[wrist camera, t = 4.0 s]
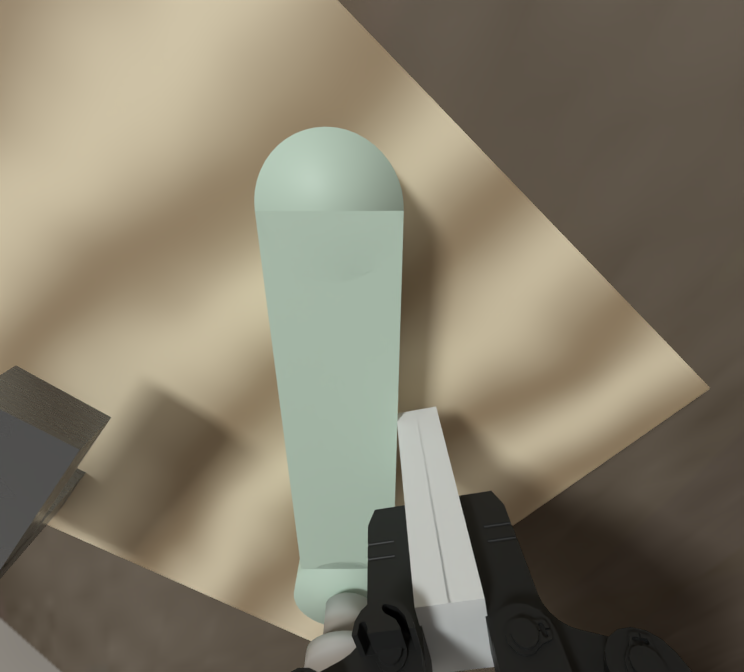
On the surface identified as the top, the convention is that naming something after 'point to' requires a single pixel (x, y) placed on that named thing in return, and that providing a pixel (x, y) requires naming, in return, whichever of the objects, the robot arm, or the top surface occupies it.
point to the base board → (247, 291)
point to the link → (333, 343)
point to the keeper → (38, 456)
